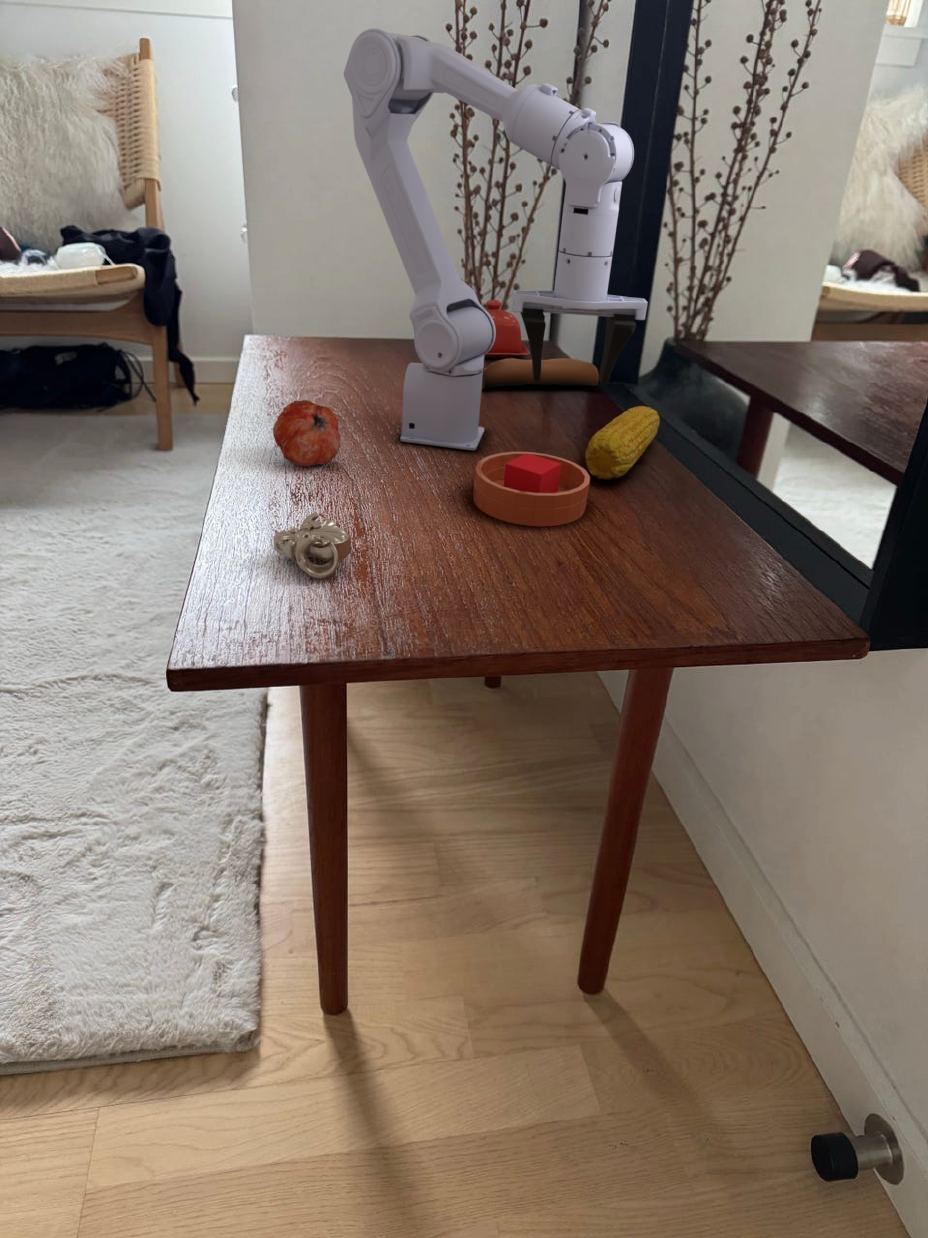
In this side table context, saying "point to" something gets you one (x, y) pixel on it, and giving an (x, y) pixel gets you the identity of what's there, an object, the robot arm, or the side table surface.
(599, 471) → the food
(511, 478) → the red block
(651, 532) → the side table surface
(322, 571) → the ornament
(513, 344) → the butter dish
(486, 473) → the pot
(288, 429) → the pomegranate
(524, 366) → the brown rounded bar
